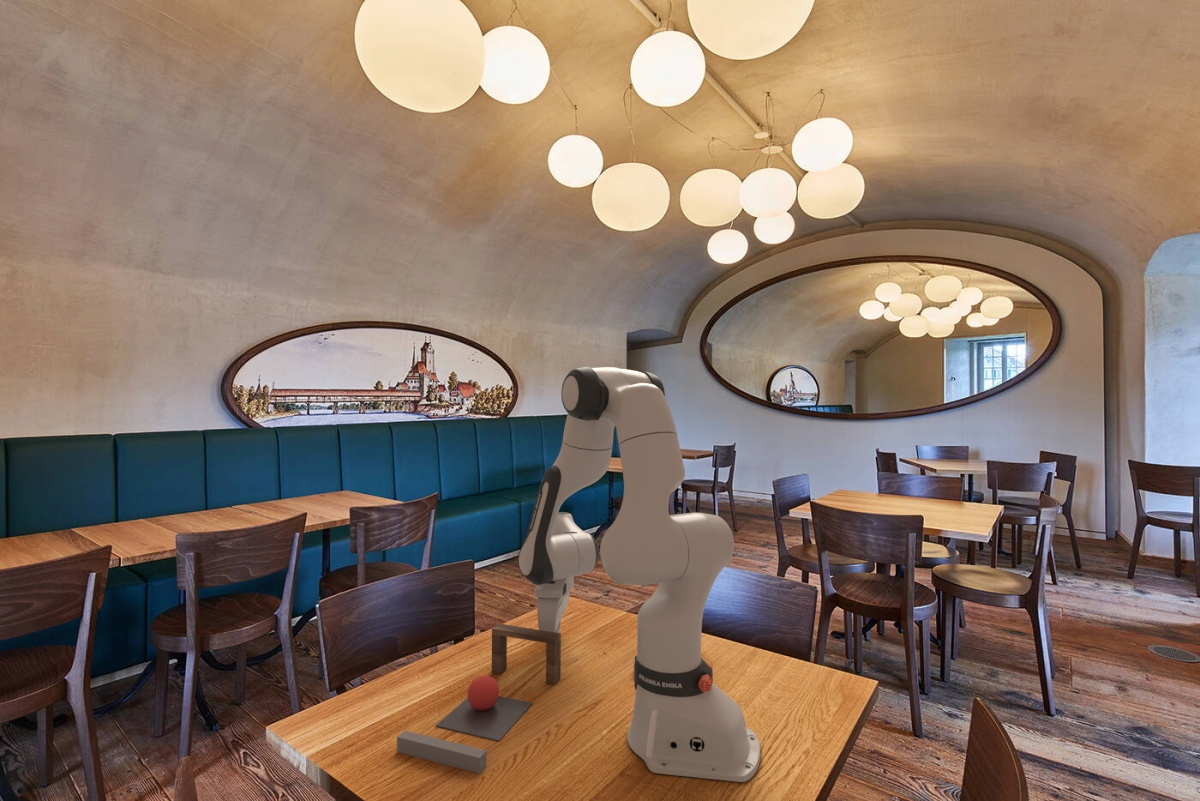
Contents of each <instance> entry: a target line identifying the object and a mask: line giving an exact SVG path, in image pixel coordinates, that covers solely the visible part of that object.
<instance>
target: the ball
mask: <svg viewBox="0 0 1200 801" xmlns="http://www.w3.org/2000/svg"><path fill="white" fill-rule="evenodd" d="M499 696H500V686H499V684H498V682H497V680H496V679H495V678H494V677H492V676H489V675H480V676H479V675H478V676H477V677H476V678H474V679H473V680H472V681H471V683H470V684H469V686H468V689H467V696H466V697H467V698H468V701H469V703H470V705H471V706H472V707H473V708H474V709H476V710H480V711H484V710H488V709H490V708H491V707H493V706H494V704H495V703H496V702H497V700H498V697H499Z"/></svg>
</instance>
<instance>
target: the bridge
mask: <svg viewBox="0 0 1200 801" xmlns="http://www.w3.org/2000/svg"><path fill="white" fill-rule="evenodd" d="M508 638H512V639H519V640H524V641H532V642H539V643H542V644H543V643H544V644H545V684H546V685H549V686H556V685H557V684H558V682H559V681H560V680H561V675H562V674H561V673H562V672H561V671H562V670H561V665H562V664H561V662H562V660H561V659H562V658H561V656H562V655H561V653H562V652H561V651H562V649H561V648H562V643H561V642H562V641H561V640H562V634H561V632H560V633H556V632H550V631H543V630H539V629H537V628H531V627H524V626H523V627H522V626H516V625H511V624H503V623H498V624H497V625H495V626H493V627H492V628H491V674H493V675H498V676H500V675H502V673H504V672H505V671H506V670H507V669H508V668H507V667H508V666H507V658H508V652H507V651H508Z"/></svg>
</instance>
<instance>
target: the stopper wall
mask: <svg viewBox="0 0 1200 801" xmlns="http://www.w3.org/2000/svg"><path fill="white" fill-rule="evenodd" d="M396 752H397V753H399V754H404V755H408V756H411V757H414V758H417V759H418V758H419V759H423V760H426V761H429V762H434V763H438V764H442V765H445V766H449V767H453V768H456V769H460V770H465V771H468V772H471V773H476V774H481V773H482V772H483V771H484V770H485V769H486V767H487V750H485V749H481V748H478V747H473V746H469V745H465V744H462V743H458V742H453V741H449V740H446V739H441V738H438V737H434V736H429V735H426V734H425V735H424V734H422V733H421V734H420V733H416V732H412V731H409V730H403V732H401V733H400V734H398V735H397V736H396Z"/></svg>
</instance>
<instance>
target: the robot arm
mask: <svg viewBox="0 0 1200 801" xmlns="http://www.w3.org/2000/svg"><path fill="white" fill-rule="evenodd" d="M562 382H563V383H562V385H561V391H560V392H561V394H560V395H561V401H562V402H561V403H562V407H563V408H564V410H565V411H566V413H567V415H566V420H565V423H564V424H565V425H564V430H563V435H562V436H563V437H562V443H561V447H560V451H559V454H558V456H557V458H556V459H555V461H554V463H553V464H552V465H551V466H550V467H549V468H547V469H546V471H545V472H544V475H543V477H542V479H541V481H540V482H541V483H540V486H539V489H538V492H537V497H536V499H535V503H534V508H533V510H532V515H531V519H530V523H529V526H528V529H527V533H526V535H525V538H524V541H523V543H522V545H521V547H520V549H519V553H518V559H517V560H518V561H517V562H518V568H519V571H520V574H521V576H523V577H524V578H525V579H526V580H527V581H529V582H530V583H532V584H533V585H535V587H534V597H535V598H537V601H536V608H537V609H536V611H537V612H536V613H537V625H538V630H543V631H550V632H556V633H561V631H560V630H561V622H562V618H563V616H564V614H565V612H566V609H567V607H568V606H569V602H570V601H569V600H570V592H569V590H571V589H573V588H574V579H575V578H574V577H576V576H581V575H585V574H588V573H592V572H593V571H594V570H595V569H596V567H597V565H598V562H599V560H600V563H601V565H602V568H603V570H604V571H605V573H606V575H607V576H608V577H609V578H610V580H612V581H613V582H614V583H615V584H618V585H625V586H642V587H643V586H648V585H649V586H650V585H654V584H658V586H657V587H656V589H655V590H654V593H653V594H652V595H651V596H650V597H649V598H648V599H647V600H645V602H644V603H643V604H642V606H641V607H640V608H639V610H638V614H637V620H636V627H637V628H636V629H637V630H636V631H637V632H636V637H637V638H636V655H635V656H634V662H633V683H634V690H635V696H634V704H633V710H632V711H633V712H632V717H631V720H630V721H631V722H630V726H629V729H628V730H627V731H628V732H627V735H626V736H627V737H626V740H627V743H628V746H629V748H630V749H631V750H632V751H633V753H635V754H636V755H637V756H639V757H640V758H641V759H642V760H643V761H644V762H645V765H646V767H647V768H648V770H649V771H650V772H652V773H654V774H660V775H661V774H662V775H670V776H679V777H688V778H689V777H691V778H698V779H707V780H708V779H709V780H719V781H727V782H736V783H737V782H738V783H745V782H747V781H749V780H751V779H752V778H753V777H754V776H755V774H756V773H757V771H758V769H759V766H760V762H761V754H762V753H761V744H760V741H759V740H760V739H759V738H758V736H757V735H756V733H755V732H754V731H753V730H752V729H751V728H748V727H746V726H747V725H746V721H745V716H744V712H743V710H742V708H741V706H740V704H738V703H737V701H735V700H734V699H733V698H732V697H730V696H729V695H728V694H726V693H725V691H723V690H722V689H721V688H720V687H719V686H718V685H716V684H715V683H714V682H713V680H714V678H713V677H714V676H713V674H714V673H713V661H712V660H710V661H709V662H710V663H709V664H708V663H707V662H706V661H705V660H704V659H703V658H702V656H701V655H702V629H703V628H702V627H703V616H704V611H705V607H706V605H707V604H706V603H707V602H708V601H707V600H708V597H709V595H710V592H711V590H712V588H713V587H714V586H713V585H714V583H715V582H716V579H718V578H717V577H718V576H719V574H720V573H721V572H722V571H723V570H724V569H725V567H726V566H727V565H728V564H729V563H730V562H731V560H732V558H733V555H734V552H735V539H734V534H733V531H732V529H731V527H730V526H729V525H728V523H727V522H726V521H725V520H724V519H723V518H722V517H721V516H719V515H715V514H710V513H704V512H687V513H685V512H684V513H677V514H676V513H675V514H670V511H669V505H670V504H669V501H670V497H671V494H672V493H673V492H675V491H676V490H677V489H678V488H679V487H680V486H681V485H682V484H683V482H684V480H685V477H686V470H685V464H684V460H683V456H682V455H683V454H682V451H681V447H680V441H679V437H678V433H677V428H676V424H675V421H674V418H673V414H672V412H671V408H670V407H669V404H668V401H667V399H666V393H665V386H664V384H663V382H662V380H661V379H660V378H659V376H657V375H656V374H654V373H652V372H649V371H644V370H639V371H637V370H631V369H627V368H626V369H625V368H619V367H616V366H615V367H611V366H609V367H607V366H606V367H590V366H583V367H578V368H574V369H572V370H570V371H569V372H568V373H567V375H566V376H565V378H564V380H563V381H562ZM615 429H616V437H617V438H616V439H617V443H618V450H619V455H620V460H621V461H620V462H621V468H622V469H621V470H622V475H623V487H624V488H623V498H622V503H621V506H620V509H619V511H618V514H617V516H616V518H615V520H614V522H613V523H612V524H611V525H610V526H609V527H608V529H606V531H605V532H604V534H603V537H602V539H601V542H600V546H599V543H598V541H597V540H596V538H595V537H594V536H593V535H592V534H591V533H589V532H587V531H584V530H583V529H581V528H580V527H579V526H578V525H577V524H576V523H575V521H574V519H573V515H572V514H571V513H569V512H565V511H561V512H559V511H560V508H561V506H562V505H563V504H564V502H565V501H566V500H567V499H568V498H569V497H571V496H572V495H574V494H575V493H576V492H578V491H580V490H582V489H584V488H586V487H589V486H591V485H592V484H594V483H596V482H597V481H599V480H600V479H602V477H603V476H604V475H605V474H606V473H607V471H608V469H609V466H610V464H611V459H612V452H613V444H614V432H615V431H614V430H615ZM599 547H600V548H599ZM599 557H600V559H599Z"/></svg>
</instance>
